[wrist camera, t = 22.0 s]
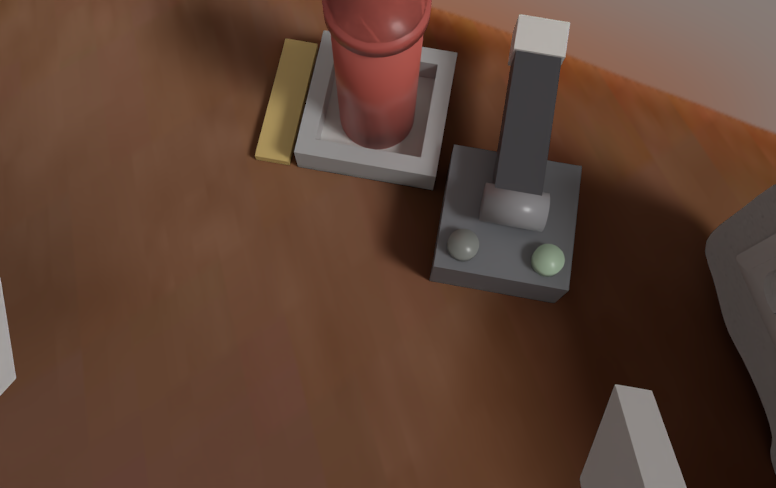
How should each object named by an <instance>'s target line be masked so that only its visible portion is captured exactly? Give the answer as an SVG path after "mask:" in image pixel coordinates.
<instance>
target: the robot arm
mask: <svg viewBox="0 0 776 488" xmlns="http://www.w3.org/2000/svg"><path fill="white" fill-rule="evenodd" d="M15 379H16V374H15V368H14V361H13V355H12V348H11V342H10V336H9V329H8V323H7V316H6V310H5V304H4V297H3V291H2V284H1V278H0V395H1V394H2V393H3V392H4V391H5V390H6V389H7V388H8V387H9V386H10V385H11V383H12V382H13V381H14V380H15ZM580 483H581V488H687V487H686V484H685V481H684V479H683V476H682V473H681V470H680V467H679V465H678V462H677V459H676V456H675V454H674V451H673V448H672V445H671V442H670V440H669V437H668V434H667V431H666V428H665V426H664V423H663V420H662V417H661V415H660V412H659V409H658V406H657V403H656V401H655V398H654V395H653V392H652V390H646V389H640V388H635V387H629V386H623V385H617V384H615V385H614V388H613V391H612V393H611V396H610V399H609V401H608V404H607V407H606V409H605V412H604V415H603V418H602V420H601V423H600V426H599V428H598V431H597V434H596V436H595V439H594V442H593V444H592V447H591V450H590V452H589V455H588V458H587V460H586V463H585V466H584V468H583V471H582V474H581V476H580Z"/></svg>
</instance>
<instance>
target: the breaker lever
mask: <svg viewBox="0 0 776 488" xmlns="http://www.w3.org/2000/svg"><path fill="white" fill-rule="evenodd" d="M569 27H570V22H564V21H558V20H552V19H546V18H540V17H534V16H527V15H521V14H519V16H518V19H517V23H516V25H515V28H514V31H513V36H512V42H511V48H510V54H509V61H508V65H510V66H511V67H510V74H509V80H508V86H507V93H506V99H505V105H504V112H503V118H502V124H501V131H500V137H499V143H498V150H497V156H496V162H495V169H494V175H493V181H492V183H487V182H486V184H485V187H484V191H483V195H482V200H481V206H480V213H479V221H482V222H488V223H493V224H499V225H505V226H510V227H516V228H522V229H528V230H533V231H539V232H542V231H543V230H544V227H545V225H546V222H547V218H548V213H549V207H550V194H549V193H544V192H543V186H544V179H545V172H546V165H547V158H548V151H549V144H550V137H551V130H552V123H553V116H554V109H555V102H556V95H557V88H558V81H559V74H560V67H561V64H562V62H563V60H564V58H565V56H566V49H567V41H568V34H569Z"/></svg>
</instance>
